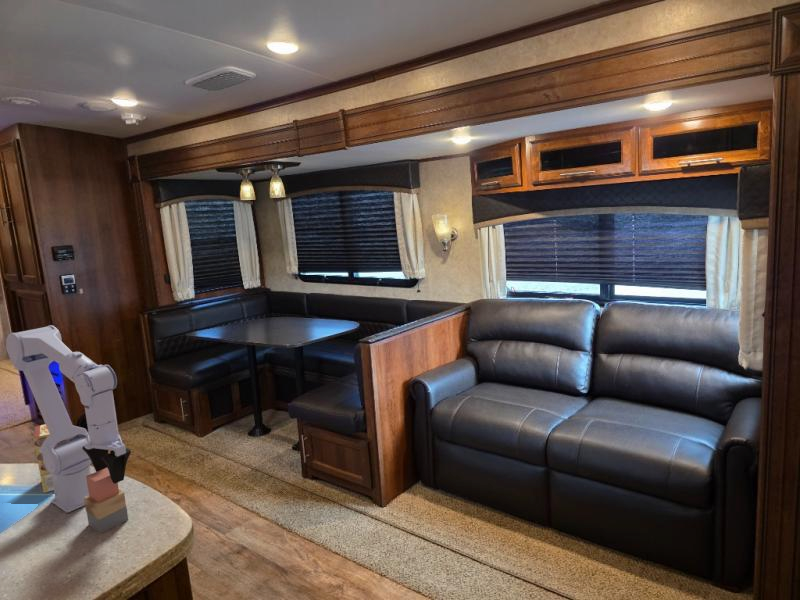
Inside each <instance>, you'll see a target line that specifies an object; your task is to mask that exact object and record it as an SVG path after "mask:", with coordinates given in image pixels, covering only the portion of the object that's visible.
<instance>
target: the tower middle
mask: <svg viewBox="0 0 800 600" xmlns="http://www.w3.org/2000/svg"><path fill="white" fill-rule="evenodd" d="M84 502H85V505H84V506H85V508H84V509H85V512H86V513H87V512H88V513H89V514H91V515H92V516H94V517H95V518H97V519H102V518H104V517H106V516H108V515H110V514H112V513H114V512H116V511H118V510H120V509H122V508H124V507H127V502H126V496H125V492H124V491H122V490H120V489H119V493H118V494H116V495H114V496H112V497H110V498H107V499H105V500H103V501H101V502H97V501H95V500H94V499H92V498H91V497H89V495H88V496H86V497H84Z"/></svg>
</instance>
